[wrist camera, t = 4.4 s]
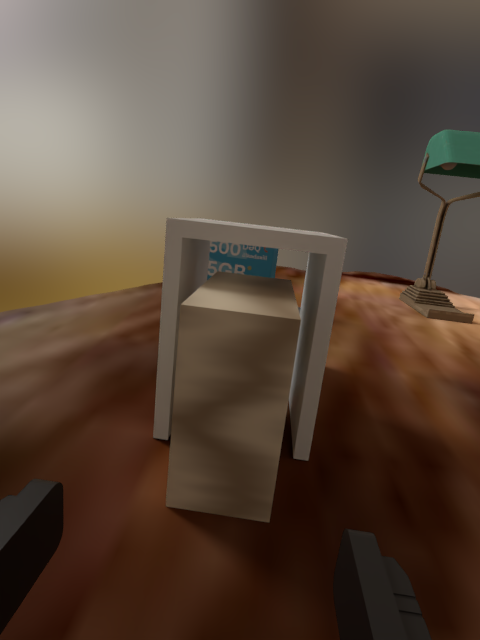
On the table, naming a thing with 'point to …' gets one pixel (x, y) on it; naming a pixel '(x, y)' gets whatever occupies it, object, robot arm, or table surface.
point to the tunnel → (316, 309)
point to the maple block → (232, 394)
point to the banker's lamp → (445, 159)
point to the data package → (242, 259)
